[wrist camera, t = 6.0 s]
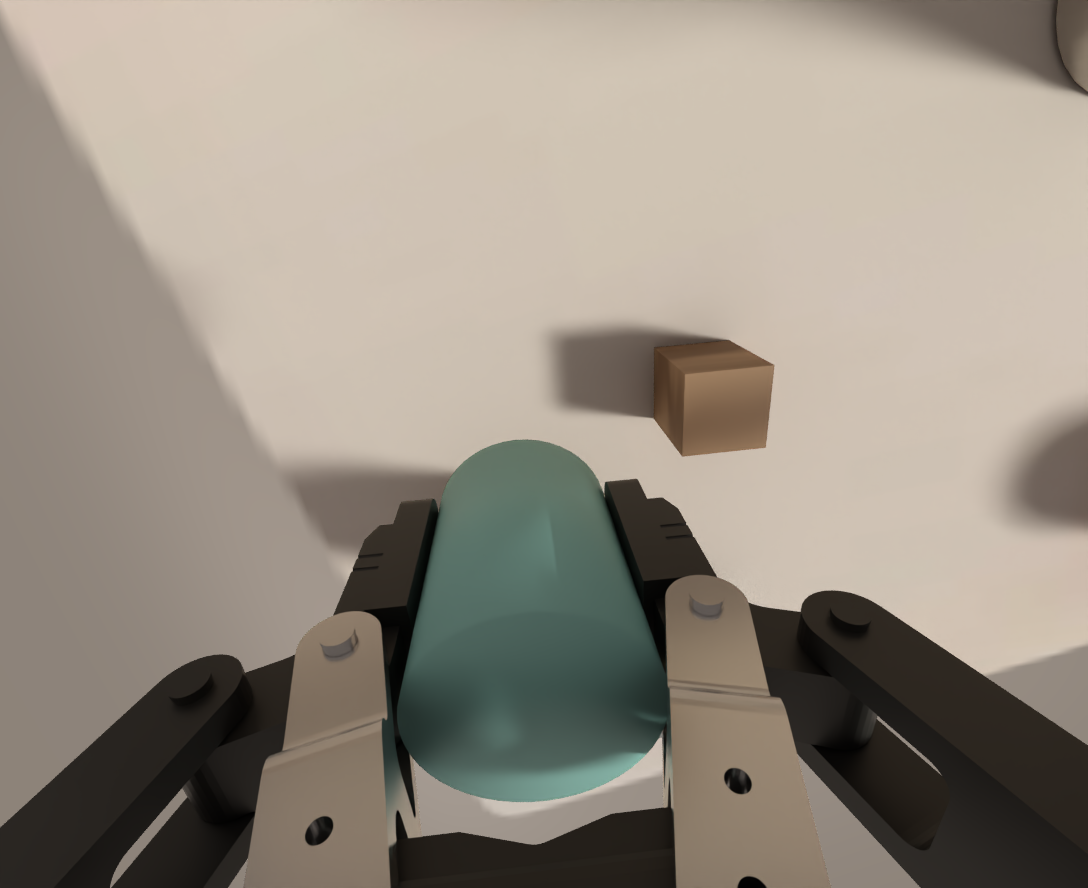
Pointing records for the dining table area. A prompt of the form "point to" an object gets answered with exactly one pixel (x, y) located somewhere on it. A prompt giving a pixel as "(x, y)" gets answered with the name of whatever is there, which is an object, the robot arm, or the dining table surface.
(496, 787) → the teal cylinder
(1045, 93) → the dining table surface
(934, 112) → the dining table surface
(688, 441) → the walnut block
